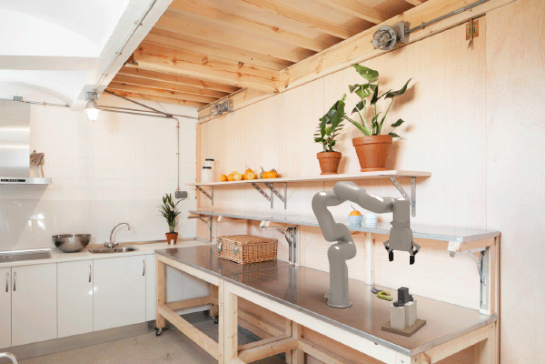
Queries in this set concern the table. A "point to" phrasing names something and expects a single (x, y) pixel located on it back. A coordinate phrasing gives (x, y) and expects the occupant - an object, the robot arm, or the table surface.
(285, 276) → the table surface
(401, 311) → the boxes on tan tray
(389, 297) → the curved yellow hook
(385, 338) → the table surface
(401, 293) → the grey bar with discs
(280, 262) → the table surface
